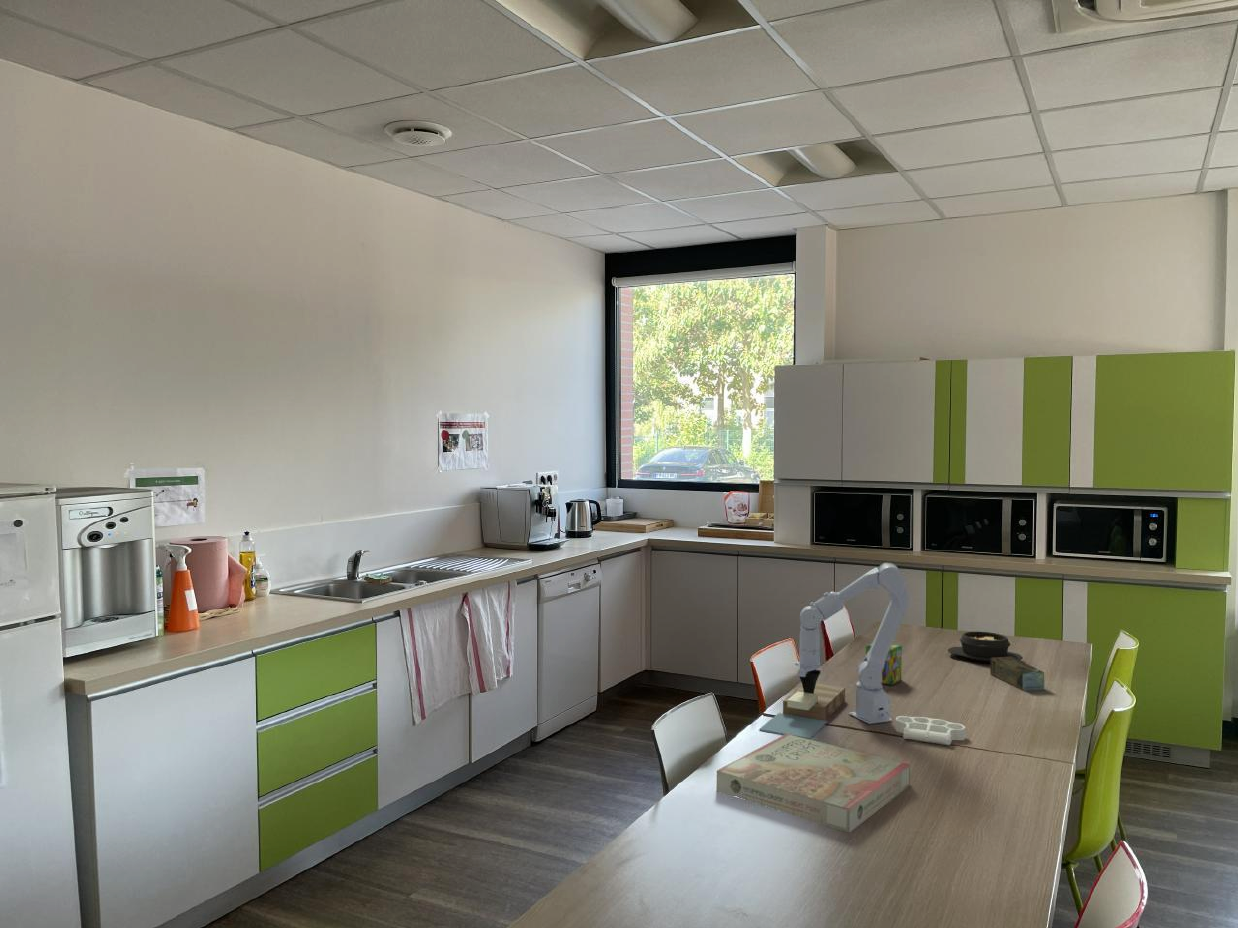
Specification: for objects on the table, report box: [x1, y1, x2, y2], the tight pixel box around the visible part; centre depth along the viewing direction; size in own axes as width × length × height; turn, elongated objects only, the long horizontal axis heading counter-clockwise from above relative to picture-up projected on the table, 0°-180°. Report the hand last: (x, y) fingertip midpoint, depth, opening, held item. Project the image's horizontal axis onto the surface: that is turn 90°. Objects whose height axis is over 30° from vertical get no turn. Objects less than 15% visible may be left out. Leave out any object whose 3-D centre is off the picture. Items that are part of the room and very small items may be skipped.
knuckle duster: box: [894, 715, 967, 747], centre depth 242 cm, size 3×18×15 cm
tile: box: [787, 691, 818, 710], centre depth 255 cm, size 9×6×2 cm, turn 151°
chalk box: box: [865, 642, 903, 686], centre depth 294 cm, size 9×9×15 cm
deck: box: [782, 683, 846, 721], centre depth 265 cm, size 22×12×4 cm, turn 151°
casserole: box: [947, 631, 1024, 664], centre depth 323 cm, size 25×19×8 cm
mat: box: [758, 712, 828, 740], centre depth 248 cm, size 16×14×1 cm
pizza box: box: [716, 734, 911, 833], centre depth 206 cm, size 32×5×32 cm
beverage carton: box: [989, 656, 1045, 691], centre depth 294 cm, size 8×19×7 cm, turn 8°
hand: (808, 695), depth 260 cm, fingers closed
